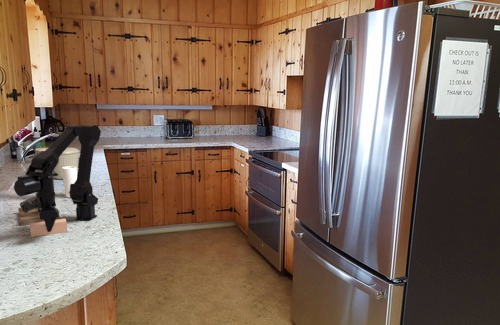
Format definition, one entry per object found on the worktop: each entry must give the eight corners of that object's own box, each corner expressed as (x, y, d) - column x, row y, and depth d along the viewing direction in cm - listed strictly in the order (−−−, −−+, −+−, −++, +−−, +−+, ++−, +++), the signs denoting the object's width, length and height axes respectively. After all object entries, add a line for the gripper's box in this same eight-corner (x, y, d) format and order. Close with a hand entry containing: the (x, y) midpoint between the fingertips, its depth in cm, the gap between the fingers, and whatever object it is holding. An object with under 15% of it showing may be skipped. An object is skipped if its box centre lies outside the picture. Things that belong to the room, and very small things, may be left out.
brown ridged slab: (54, 208, 175) (54, 203, 174) (59, 220, 159) (59, 214, 159) (18, 213, 167) (18, 207, 167) (20, 225, 152) (19, 219, 152)
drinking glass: (62, 198, 191) (60, 168, 188) (65, 195, 197) (63, 166, 195) (77, 197, 193) (75, 168, 190) (79, 194, 199) (77, 165, 196)
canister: (73, 181, 227) (70, 146, 223) (42, 180, 227) (39, 145, 223) (86, 175, 245) (84, 142, 241) (58, 174, 245) (55, 141, 241)
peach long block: (65, 228, 150) (65, 218, 149) (67, 231, 147) (66, 221, 146) (30, 233, 144) (29, 223, 143) (31, 237, 140) (30, 226, 140)
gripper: (19, 186, 146) (23, 226, 149) (21, 198, 130) (25, 242, 133) (52, 183, 152) (55, 221, 154) (57, 194, 136) (60, 236, 139)
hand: (48, 229), depth 145 cm, fingers closed on peach long block, 4 cm apart
